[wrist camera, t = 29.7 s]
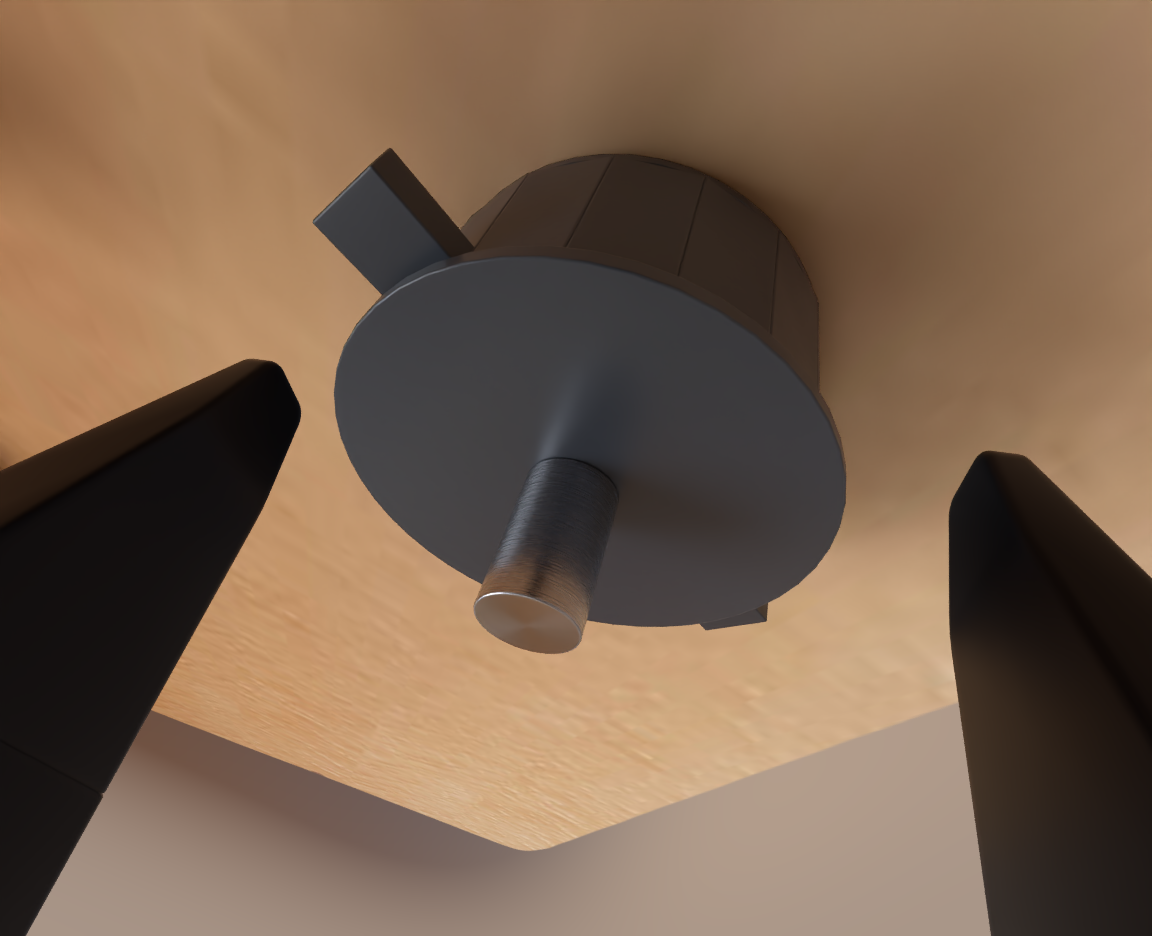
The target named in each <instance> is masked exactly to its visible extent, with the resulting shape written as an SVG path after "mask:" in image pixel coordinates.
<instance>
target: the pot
mask: <svg viewBox="0 0 1152 936" xmlns="http://www.w3.org/2000/svg"><path fill="white" fill-rule="evenodd" d="M313 224H314V225H315V226H316V227H317V228H318V229H319V230H320V231H321V232H322V233H323V234H324V235H325V236H326V237H327V238H328V239H329V240H330V241H331V242H332V243H333V244H334V246H335V247H336V248H337V249H338V250H339V251H340V252H341V253H342V254H343V255H344V256H345V257H346V258H347V259H348V260H349V261H350V262H351V263H352V264H353V265H354V266H355V267H356V268H357V269H358V270H359V271H360V272H361V274H362V275H363V276H364V277H365V278H366V279H367V280H368V281H369V282H370V283H371V284H372V285H373V286H374V287H375V288H376V289H377V290H378V291H379V292H380V293H381V294H382V295H383V294H384V293H386V292H387V291H388V290H390V289H391V288H392V287H394V286H395V285H396V284H398V283H399V282H400V281H402V280H403V279H404V278H405V277H407V276H409V275H411V274H413V273H415V272H417V271H419V270H421V269H423V268H425V267H427V266H429V265H431V264H433V263H436V262H439V261H442V260H446V259H449V258H452V257H455V256H459V255H462V254H465V253H468V252H474V251H480V250H487V249H494V248H500V247H507V246H557V247H566V248H575V249H583V250H592V251H597V252H601V253H606V254H610V255H614V256H618V257H622V258H626V259H631V260H635V261H639V262H641V263H644V264H647V265H649V266H652V267H655V268H658V269H660V270H663V271H666V272H668V273H671V274H674V275H676V276H679V277H682V278H684V279H685V280H687V281H689V282H691V283H693V284H695V285H697V286H699V287H701V288H703V289H705V290H707V291H709V292H711V293H713V294H715V295H717V296H718V297H720V298H722V299H724V300H725V301H726V302H728V303H729V304H731V305H732V306H734V307H735V308H737V309H738V310H740V311H741V312H743V313H744V314H745V315H747V316H748V317H750V318H751V319H753V320H754V321H756V322H757V323H758V324H759V325H760V326H762V327H763V328H764V329H765V330H766V331H767V332H768V333H769V334H770V335H772V336H773V337H774V338H775V339H776V340H777V341H778V342H779V343H780V344H782V345H783V346H784V347H785V348H786V349H787V350H788V351H789V352H790V354H791V355H792V356H793V357H794V358H795V360H796V361H797V362H798V363H799V364H800V365H801V367H802V368H803V369H804V370H805V371H806V373H807V374H808V375H809V376H810V377H811V379H812V380H813V382H814V383H815V385H816V387H817V388H818V390H819V392H820V368H819V303H818V301H817V297H816V295H815V294H814V292H813V290H812V286H811V283H810V280H809V278H808V276H807V274H806V271H805V269H804V267H803V265H802V262H801V260H800V258H799V257H798V255H797V254H796V252H795V251H794V249H793V248H792V246H791V245H790V243H789V241H788V240H787V238H786V237H785V236H784V234H783V233H782V232H781V231H780V230H779V229H778V228H777V227H776V225H775V224H774V223H773V222H772V221H771V220H770V219H769V218H768V216H767V215H765V214H764V213H763V212H762V211H761V210H760V209H758V208H757V207H756V206H755V205H754V204H752V203H751V202H750V201H749V200H748V199H747V198H745V197H744V196H743V195H741V194H739V193H738V192H736V191H735V190H733V189H731V188H730V187H728V186H727V185H725V184H724V183H722V182H720V181H719V180H716V179H714V178H712V177H710V176H708V175H705V174H703V173H701V172H699V171H697V170H694V169H692V168H689V167H686V166H683V165H679V164H676V163H673V162H669V161H666V160H663V159H657V158H650V157H644V156H637V155H620V154H600V155H592V156H584V157H576V158H571V159H568V160H564V161H561V162H557V163H553V164H550V165H547V166H544V167H542V168H540V169H538V170H535V171H533V172H531V173H527V174H526V175H524V176H523V177H521V178H519V179H518V180H516V181H515V182H513V183H512V184H510V185H509V186H507V187H506V188H504V189H503V190H502V191H500V192H499V193H498V194H497V195H496V196H495V197H494V198H493V199H492V200H491V201H489V202H488V203H487V204H486V205H485V206H484V207H483V208H481V209H480V210H479V211H477V212H476V213H475V214H473V215H472V216H471V217H470V219H469V220H468V221H467V222H466V224H465V225H464V226H463V227H462V229H461V230H460V229H459V228H458V227H457V226H456V225H455V223H454V222H453V221H452V220H451V219H450V217H449V216H448V215H447V214H446V213H445V211H444V210H443V209H442V208H441V207H440V206H439V204H438V203H437V202H436V201H435V200H434V198H433V197H432V196H431V195H430V194H429V192H428V191H427V190H426V189H425V188H424V186H423V185H422V184H421V183H420V182H419V180H418V179H417V178H416V177H415V176H414V174H413V173H412V172H411V171H410V170H409V169H408V167H407V166H406V165H405V164H404V163H403V161H402V160H401V159H400V158H399V157H398V155H397V154H396V153H395V152H394V151H393V149H391V148H389V149H387V150H386V151H385V152H384V153H383V154H381V155H380V156H379V157H378V158H377V159H376V160H375V161H374V162H372V163H371V164H370V165H369V166H368V167H367V168H366V169H365V170H364V171H363V172H362V173H361V174H360V175H359V176H358V177H357V178H356V179H355V180H354V181H353V182H352V183H351V184H350V185H349V186H348V187H346V188H345V189H344V190H343V191H342V192H341V193H340V194H339V195H338V196H337V197H336V198H335V199H334V200H333V201H332V202H331V203H330V204H329V205H328V206H327V207H326V208H325V209H324V210H323V211H322V212H321V213H320V214H319V215H318V216H317V217H316V218H315V219H314V220H313ZM767 609H768V603H766V604H764V605H762V606H760V607H758V608H756V609H753V610H750V611H747V612H745V613H742V614H739V615H736V616H732V617H728V618H724V619H720V620H716V621H712V622H706V623H699V624H700V625H701V626H702V627H703V628H704V629H705V630H711V629H718V628H725V627H732V626H739V625H746V624H753V623H760V622H766V621H767Z"/></svg>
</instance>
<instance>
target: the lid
mask: <svg viewBox="0 0 1152 936" xmlns="http://www.w3.org/2000/svg"><path fill="white" fill-rule="evenodd" d="M334 400H335V414H336V419H337V423H338V427H339V432H340V436H341V439H342V441H343V444H344V446H345V449H346V451H347V454H348V456H349V459H350V461H351V463H352V464H353V466H354V468H355V470H356V472H357V474H358V475H359V477H360V479H361V481H362V482H363V483H364V485H365V486H366V488H367V489H368V490H369V492H370V493H371V495H372V496H373V497H374V499H375V500H376V501H377V502H378V504H379V505H380V506H381V507H382V508H383V509H384V510H385V512H386V513H387V514H388V515H389V516H390V517H391V518H392V519H393V520H394V521H395V522H396V523H397V524H398V525H399V526H400V527H401V528H402V529H403V530H404V531H405V532H406V533H407V534H408V535H409V536H411V537H412V538H413V539H414V540H416V541H417V542H418V543H419V544H420V545H422V546H423V547H424V548H425V549H426V550H428V551H429V552H431V553H432V554H433V555H435V556H436V557H438V558H439V559H441V560H442V561H443V562H445V563H446V564H448V565H449V566H451V567H453V568H454V569H456V570H458V571H459V572H461V573H463V574H464V575H466V576H468V577H469V578H471V579H473V580H475V581H477V582H479V583H481V584H482V586H481V589H480V591H479V593H478V596H477V598H476V601H475V603H474V614H475V616H476V619H477V620H478V622H479V623H480V624H481V625H482V626H483V627H484V628H485V629H486V630H487V631H488V632H489V633H491V634H492V635H494V636H495V637H497V638H498V639H500V640H502V641H504V642H506V643H508V644H510V645H513V646H515V647H518V648H521V649H524V650H528V651H532V652H537V653H545V654H559V653H565V652H568V651H571V650H573V649H574V648H576V647H577V646H578V645H579V643H580V642H581V639H582V635H583V632H584V628H585V624H586V621H587V620H588V621H595V622H601V623H608V624H615V625H627V626H639V627H668V626H683V625H693V624H699V623H706V622H712V621H716V620H720V619H724V618H728V617H732V616H736V615H739V614H742V613H745V612H747V611H750V610H753V609H756V608H758V607H760V606H762V605H764V604H766V603H768V602H770V601H772V600H774V599H776V598H778V597H780V596H782V595H783V594H784V593H786V592H787V591H789V590H790V589H792V588H793V587H795V586H796V585H797V584H799V583H800V582H801V581H802V580H803V579H804V578H805V577H806V576H807V575H808V574H809V573H811V572H812V571H813V570H814V569H815V568H816V566H817V565H818V564H819V562H820V561H821V560H822V558H823V557H824V556H825V554H826V553H827V552H828V550H829V549H830V547H831V545H832V543H833V540H834V538H835V536H836V534H837V532H838V530H839V528H840V525H841V520H842V516H843V512H844V508H845V504H846V464H845V458H844V453H843V447H842V442H841V437H840V434H839V432H838V429H837V427H836V424H835V421H834V419H833V416H832V414H831V411H830V408H829V407H828V405H827V403H826V402H825V400H824V398H823V397H822V395H821V393H820V392H819V390H818V388H817V387H816V385H815V383H814V382H813V380H812V379H811V377H810V376H809V375H808V374H807V373H806V371H805V370H804V369H803V368H802V367H801V365H800V364H799V363H798V362H797V361H796V360H795V358H794V357H793V356H792V355H791V354H790V352H789V351H788V350H787V349H786V348H785V347H784V346H783V345H782V344H780V343H779V342H778V341H777V340H776V339H775V338H774V337H773V336H772V335H770V334H769V333H768V332H767V331H766V330H765V329H764V328H763V327H762V326H760V325H759V324H758V323H757V322H756V321H754V320H753V319H751V318H750V317H748V316H747V315H745V314H744V313H743V312H741V311H740V310H738V309H737V308H735V307H734V306H732V305H731V304H729V303H728V302H726V301H725V300H724V299H722V298H720V297H718V296H717V295H715V294H713V293H711V292H709V291H707V290H705V289H703V288H701V287H699V286H697V285H695V284H693V283H691V282H689V281H687V280H685V279H684V278H682V277H679V276H676V275H674V274H671V273H668V272H666V271H663V270H660V269H658V268H655V267H652V266H649V265H647V264H644V263H641V262H639V261H635V260H631V259H626V258H622V257H618V256H614V255H610V254H606V253H601V252H597V251H592V250H583V249H575V248H566V247H557V246H507V247H500V248H494V249H487V250H480V251H474V252H468V253H465V254H462V255H459V256H455V257H452V258H449V259H446V260H442V261H439V262H436V263H433V264H431V265H429V266H427V267H425V268H423V269H421V270H419V271H417V272H415V273H413V274H411V275H409V276H407V277H405V278H404V279H403V280H402V281H400V282H399V283H398V284H396V285H395V286H394V287H392V288H391V289H390V290H388V291H387V292H386V293H384V294H383V295H382V296H381V297H380V298H379V299H378V300H377V301H376V302H375V304H374V305H373V306H372V307H371V308H370V309H369V310H368V311H367V312H366V314H365V315H364V316H363V317H362V318H361V319H360V321H359V322H358V323H357V324H356V326H355V328H354V329H353V331H352V333H351V335H350V336H349V338H348V340H347V342H346V343H345V345H344V348H343V351H342V354H341V357H340V360H339V363H338V366H337V371H336V379H335V388H334Z"/></svg>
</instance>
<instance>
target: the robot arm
mask: <svg viewBox="0 0 1152 936" xmlns="http://www.w3.org/2000/svg"><path fill="white" fill-rule="evenodd" d="M300 418H301V408H300V404H299V402H298V400H297V398H296V396H295V394H294V392H293V390H292V388H291V386H290V384H289V382H288V379H287V377H286V375H285V373H284V371H283V370H282V368H281V367H280V366H279V365H278V364H277V363H275V362H272V361H266V360H258V359H246V360H243V361H241V362H238V363H236V364H234V365H232V366H230V367H227V368H225V369H223V370H221V371H219V372H216V373H214V374H212V375H210V376H208V377H206V378H203V379H201V380H199V381H197V382H195V383H192V384H190V385H188V386H186V387H184V388H181V389H179V390H177V391H175V392H173V393H170V394H168V395H166V396H164V397H162V398H159V399H157V400H155V401H153V402H151V403H148V404H146V405H144V406H142V407H140V408H137V409H135V410H133V411H131V412H129V413H126V414H124V415H122V416H120V417H118V418H116V419H113V420H111V421H109V422H107V423H105V424H102V425H100V426H98V427H96V428H94V429H91V430H89V431H87V432H85V433H83V434H80V435H78V436H76V437H74V438H72V439H69V440H67V441H65V442H63V443H61V444H58V445H56V446H54V447H52V448H50V449H47V450H45V451H43V452H41V453H39V454H37V455H34V456H32V457H30V458H28V459H26V460H23V461H21V462H19V463H17V464H15V465H12V466H10V467H8V468H6V469H4V470H1V471H0V936H26V934H27V933H28V931H29V929H30V927H31V925H32V923H33V922H34V920H35V918H36V916H37V915H38V913H39V911H40V909H41V907H42V906H43V904H44V902H45V900H46V898H47V897H48V895H49V893H50V891H51V889H52V888H53V886H54V884H55V882H56V880H57V879H58V877H59V875H60V873H61V871H62V870H63V868H64V866H65V864H66V863H67V861H68V859H69V857H70V855H71V854H72V852H73V850H74V848H75V846H76V844H77V843H78V841H79V839H80V837H81V836H82V834H83V832H84V830H85V828H86V827H87V825H88V823H89V821H90V819H91V817H92V816H93V814H94V812H95V810H96V809H97V806H98V805H99V803H100V801H101V800H102V798H103V794H102V793H104V792H105V791H106V790H107V788H108V786H109V784H110V782H111V781H112V779H113V777H114V775H115V773H116V772H117V770H118V768H119V766H120V765H121V763H122V761H123V759H124V757H125V756H126V754H127V752H128V750H129V748H130V747H131V745H132V743H133V741H134V739H135V737H136V736H137V734H138V732H139V730H140V729H141V727H142V725H143V723H144V721H145V720H146V718H147V716H148V714H149V712H150V711H151V709H152V707H153V705H154V703H155V702H156V700H157V698H158V696H159V695H160V693H161V691H162V689H163V687H164V686H165V684H166V682H167V680H168V678H169V677H170V675H171V673H172V671H173V669H174V668H175V666H176V664H177V662H178V660H179V659H180V657H181V655H182V653H183V651H184V650H185V648H186V646H187V644H188V642H189V641H190V639H191V637H192V635H193V634H194V632H195V630H196V628H197V626H198V625H199V623H200V621H201V619H202V617H203V616H204V614H205V612H206V610H207V608H208V607H209V605H210V603H211V601H212V599H213V598H214V596H215V594H216V592H217V590H218V589H219V587H220V585H221V583H222V581H223V580H224V578H225V576H226V574H227V572H228V571H229V569H230V567H231V565H232V564H233V562H234V560H235V558H236V556H237V555H238V553H239V551H240V549H241V547H242V546H243V544H244V542H245V540H246V538H247V537H248V535H249V533H250V531H251V529H252V528H253V526H254V524H255V522H256V520H257V518H258V516H259V515H260V513H261V511H262V509H263V507H264V504H265V502H266V500H267V498H268V496H269V493H270V491H271V489H272V486H273V484H274V482H275V479H276V477H277V474H278V472H279V470H280V467H281V465H282V463H283V460H284V458H285V456H286V453H287V451H288V449H289V446H290V444H291V442H292V439H293V437H294V435H295V432H296V430H297V427H298V425H299V422H300ZM949 625H950V640H951V650H952V658H953V665H954V672H955V679H956V686H957V694H958V701H959V708H960V715H961V722H962V730H963V737H964V744H965V751H966V758H967V766H968V773H969V780H970V787H971V794H972V802H973V809H974V816H975V823H976V830H977V837H978V844H979V852H980V859H981V866H982V874H983V880H984V888H985V895H986V902H987V909H988V917H989V924H990V931H991V936H1152V578H1151V577H1150V576H1149V575H1148V574H1147V573H1146V572H1145V571H1144V570H1143V569H1142V568H1141V567H1140V566H1139V565H1138V564H1137V563H1136V562H1134V561H1133V560H1132V559H1131V558H1130V557H1129V556H1128V555H1127V554H1126V553H1125V552H1124V551H1123V550H1122V549H1121V548H1120V547H1119V546H1118V545H1117V544H1116V543H1115V542H1114V541H1113V540H1112V539H1111V538H1110V537H1109V536H1108V535H1107V534H1106V533H1105V532H1104V531H1103V530H1102V529H1101V528H1100V527H1099V526H1097V525H1096V524H1095V523H1094V522H1093V521H1092V520H1091V519H1090V518H1089V517H1088V516H1087V515H1086V514H1085V513H1084V512H1083V511H1082V510H1081V509H1080V508H1079V507H1078V506H1077V505H1076V504H1075V503H1074V502H1073V501H1072V500H1071V499H1070V498H1069V497H1068V496H1067V495H1066V494H1065V493H1064V492H1063V491H1062V490H1060V489H1059V488H1058V487H1057V486H1056V485H1055V484H1054V483H1053V482H1052V481H1051V480H1050V479H1049V478H1048V477H1047V476H1046V475H1045V474H1044V473H1043V472H1042V471H1041V470H1040V469H1039V468H1038V467H1037V466H1036V465H1035V464H1034V463H1033V462H1032V461H1031V460H1029V459H1028V458H1027V457H1025V456H1023V455H1019V454H1012V453H1004V452H996V451H985V452H982V453H981V454H979V455H978V456H977V458H976V459H975V460H974V462H973V464H972V466H971V467H970V469H969V471H968V473H967V474H966V476H965V478H964V480H963V481H962V483H961V485H960V487H959V488H958V490H957V492H956V494H955V495H954V497H953V499H952V502H951V506H950V511H949Z"/></svg>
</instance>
